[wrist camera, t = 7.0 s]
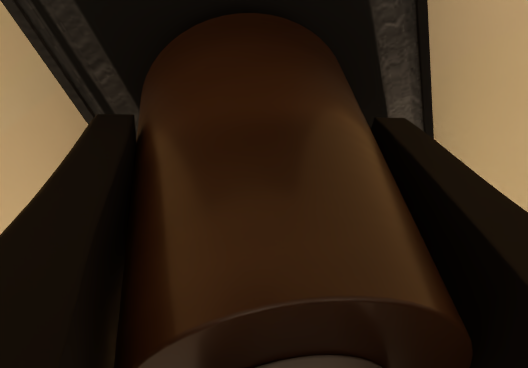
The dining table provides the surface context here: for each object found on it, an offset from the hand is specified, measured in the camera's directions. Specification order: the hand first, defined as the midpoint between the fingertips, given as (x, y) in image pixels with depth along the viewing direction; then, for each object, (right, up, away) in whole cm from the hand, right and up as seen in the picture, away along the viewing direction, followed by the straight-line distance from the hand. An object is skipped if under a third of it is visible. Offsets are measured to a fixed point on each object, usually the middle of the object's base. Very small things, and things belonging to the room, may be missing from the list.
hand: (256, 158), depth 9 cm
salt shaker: (0, +1, +1) cm, 2 cm away
